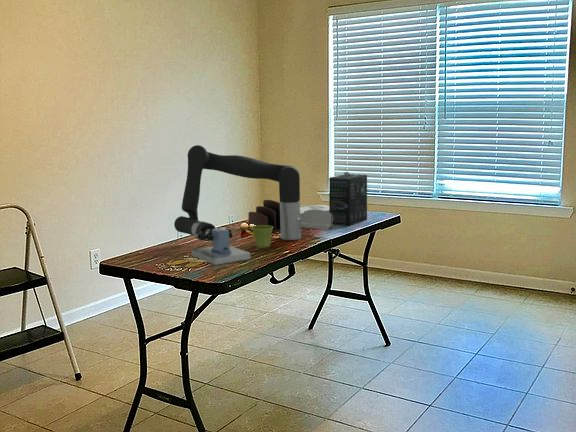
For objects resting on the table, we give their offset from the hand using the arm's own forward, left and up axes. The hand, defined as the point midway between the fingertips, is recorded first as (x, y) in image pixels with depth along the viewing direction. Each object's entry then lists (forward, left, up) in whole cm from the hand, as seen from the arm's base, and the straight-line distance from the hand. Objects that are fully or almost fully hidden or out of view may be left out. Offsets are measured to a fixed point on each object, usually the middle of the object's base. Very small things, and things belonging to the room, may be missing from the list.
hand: (222, 236), depth 256 cm
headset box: (-44, -84, -9) cm, 95 cm away
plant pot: (-12, -22, -9) cm, 27 cm away
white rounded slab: (-20, -95, -10) cm, 98 cm away
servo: (+1, -1, -8) cm, 9 cm away
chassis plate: (+1, -1, -9) cm, 9 cm away
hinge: (-29, -69, -9) cm, 75 cm away
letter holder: (-5, -62, -9) cm, 63 cm away
